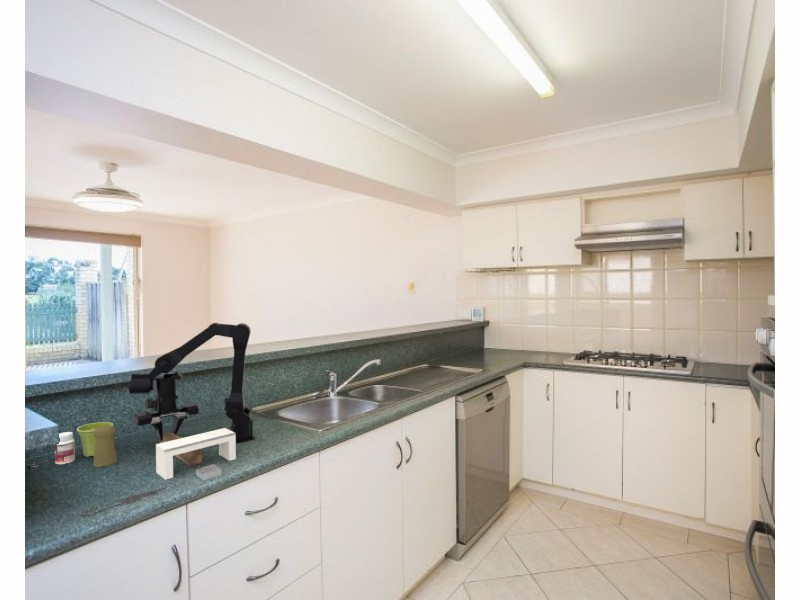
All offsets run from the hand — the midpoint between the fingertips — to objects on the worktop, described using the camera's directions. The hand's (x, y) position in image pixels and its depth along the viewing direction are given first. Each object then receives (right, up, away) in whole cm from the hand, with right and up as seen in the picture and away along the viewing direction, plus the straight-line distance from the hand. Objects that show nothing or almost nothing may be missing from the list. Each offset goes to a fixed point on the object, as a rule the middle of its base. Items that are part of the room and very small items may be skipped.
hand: (167, 439), depth 146 cm
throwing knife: (+10, -4, -37) cm, 39 cm away
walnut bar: (+7, -2, -7) cm, 11 cm away
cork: (-11, -3, -14) cm, 18 cm away
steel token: (+23, -3, -23) cm, 33 cm away
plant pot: (-19, -3, -7) cm, 20 cm away
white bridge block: (+17, -3, -16) cm, 24 cm away
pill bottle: (-24, -3, -13) cm, 27 cm away
